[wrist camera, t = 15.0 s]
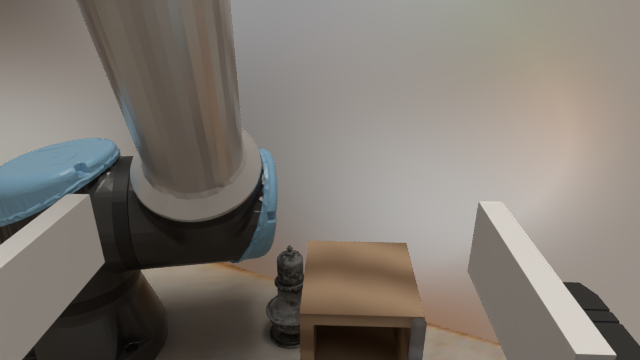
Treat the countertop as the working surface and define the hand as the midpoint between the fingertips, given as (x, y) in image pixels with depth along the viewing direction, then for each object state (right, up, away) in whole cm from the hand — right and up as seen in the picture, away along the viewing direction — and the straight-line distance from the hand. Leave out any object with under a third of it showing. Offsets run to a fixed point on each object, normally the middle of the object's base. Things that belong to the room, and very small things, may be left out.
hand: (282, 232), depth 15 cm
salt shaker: (-2, -16, +38) cm, 41 cm away
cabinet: (+4, -21, +28) cm, 35 cm away
